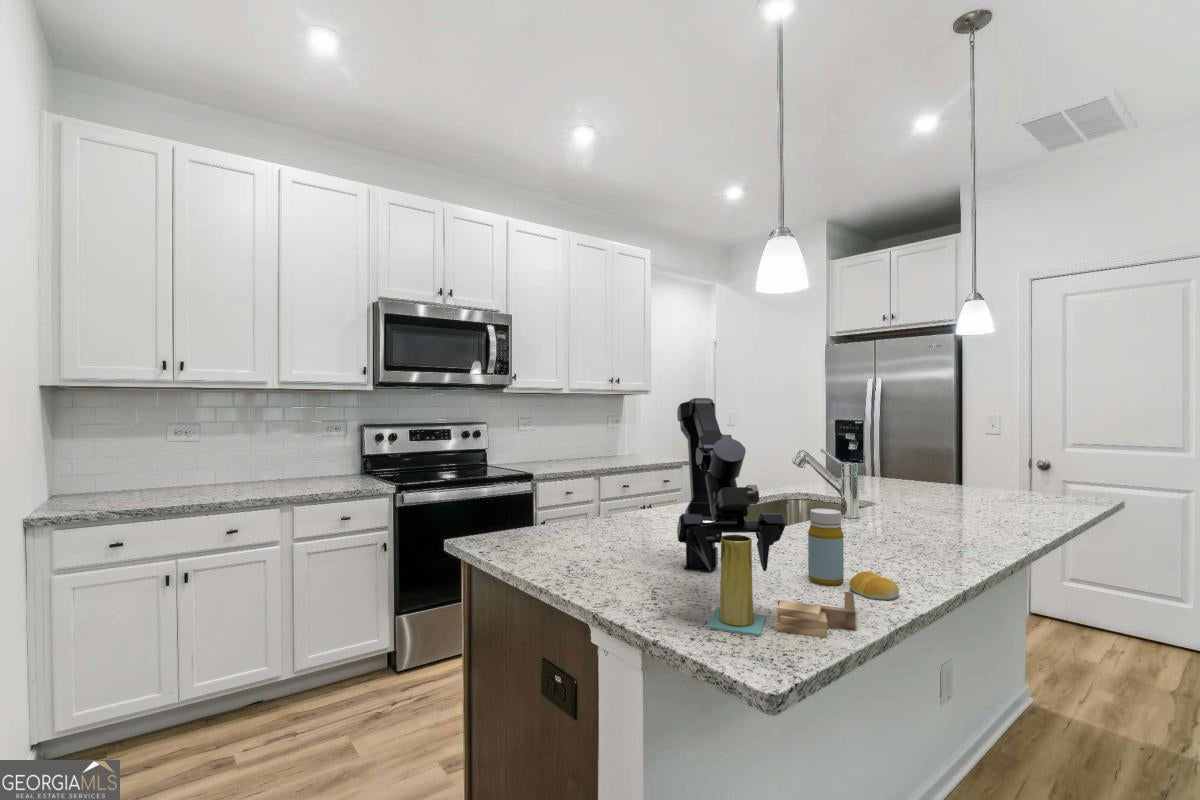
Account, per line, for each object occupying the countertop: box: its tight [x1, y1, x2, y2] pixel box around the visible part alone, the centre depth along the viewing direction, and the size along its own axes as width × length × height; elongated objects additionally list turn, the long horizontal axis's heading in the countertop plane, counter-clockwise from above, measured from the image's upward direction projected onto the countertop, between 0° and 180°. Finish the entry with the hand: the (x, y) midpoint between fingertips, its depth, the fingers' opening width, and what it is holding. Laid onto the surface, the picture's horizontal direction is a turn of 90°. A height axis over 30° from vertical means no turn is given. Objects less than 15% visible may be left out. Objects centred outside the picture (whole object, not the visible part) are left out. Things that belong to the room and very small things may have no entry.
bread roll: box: [849, 571, 900, 601], centre depth 116 cm, size 8×9×4 cm
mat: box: [705, 608, 767, 637], centre depth 101 cm, size 9×9×1 cm
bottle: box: [807, 507, 845, 586], centre depth 124 cm, size 7×7×15 cm
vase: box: [719, 534, 755, 626], centre depth 101 cm, size 6×6×14 cm
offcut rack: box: [774, 591, 856, 638], centre depth 102 cm, size 12×16×4 cm
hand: (738, 570), depth 99 cm, fingers open, 9 cm apart
